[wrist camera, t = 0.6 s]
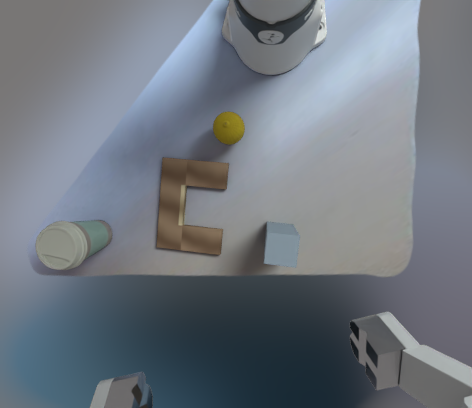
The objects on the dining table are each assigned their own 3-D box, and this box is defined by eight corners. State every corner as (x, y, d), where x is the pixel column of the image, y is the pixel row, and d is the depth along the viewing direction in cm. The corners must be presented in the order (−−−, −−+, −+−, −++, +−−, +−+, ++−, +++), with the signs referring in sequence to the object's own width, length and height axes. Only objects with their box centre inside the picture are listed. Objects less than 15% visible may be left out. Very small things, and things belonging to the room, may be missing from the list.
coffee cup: (72, 234, 58) (22, 248, 46) (97, 205, 57) (52, 212, 45) (101, 262, 58) (59, 283, 46) (126, 233, 56) (89, 247, 45)
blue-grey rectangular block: (267, 221, 53) (267, 232, 42) (292, 224, 52) (300, 236, 42) (264, 246, 53) (263, 263, 43) (290, 249, 53) (296, 267, 42)
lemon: (247, 144, 52) (244, 138, 44) (219, 148, 53) (211, 143, 45) (244, 115, 52) (239, 103, 44) (215, 120, 52) (206, 109, 44)
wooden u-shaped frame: (164, 157, 54) (162, 157, 53) (228, 163, 53) (228, 163, 52) (158, 245, 56) (156, 247, 55) (220, 253, 55) (219, 255, 53)
